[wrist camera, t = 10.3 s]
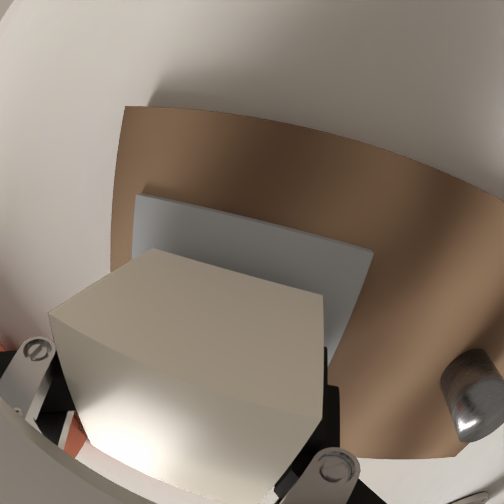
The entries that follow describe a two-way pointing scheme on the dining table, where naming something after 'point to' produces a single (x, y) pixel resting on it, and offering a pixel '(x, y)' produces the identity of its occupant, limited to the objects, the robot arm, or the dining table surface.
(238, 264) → the pad
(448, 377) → the post
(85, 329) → the cream cube
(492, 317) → the base board
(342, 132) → the dining table surface
